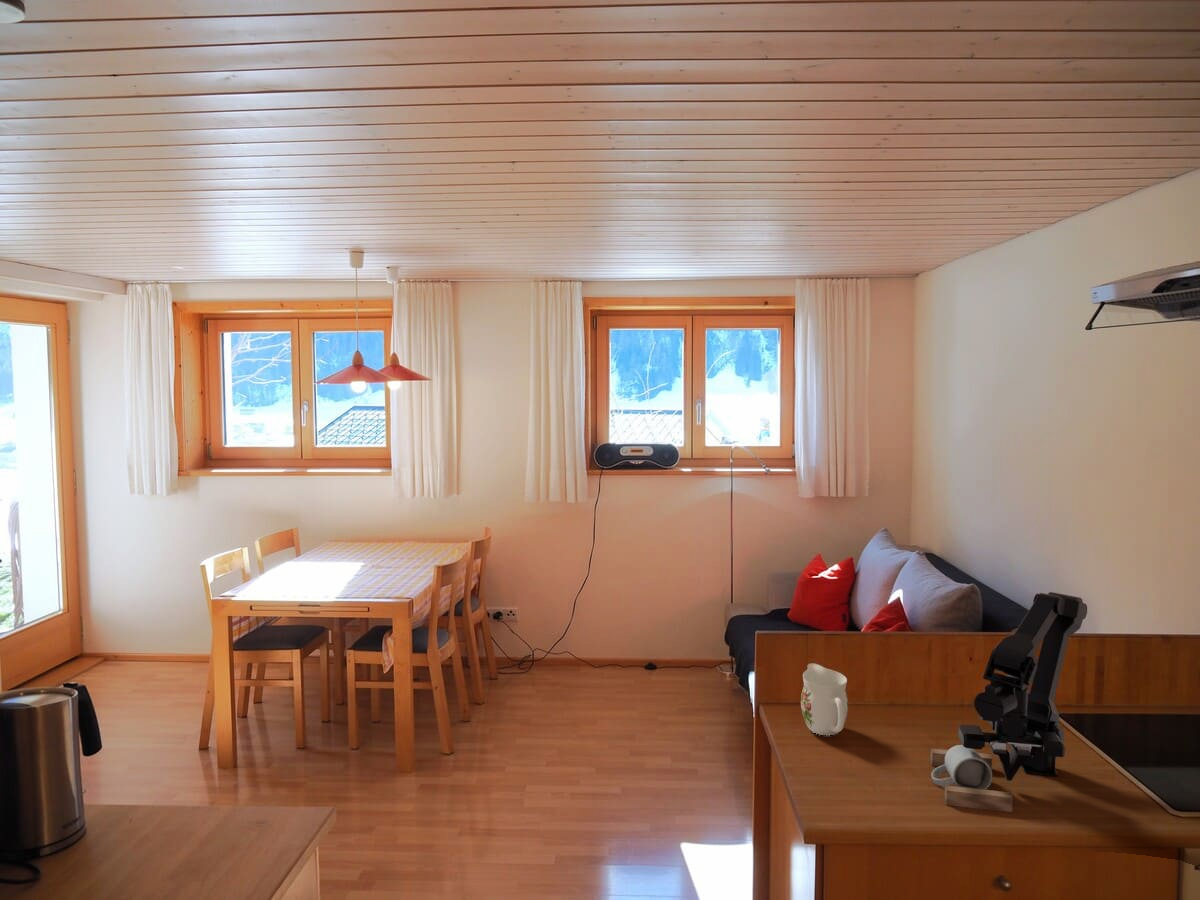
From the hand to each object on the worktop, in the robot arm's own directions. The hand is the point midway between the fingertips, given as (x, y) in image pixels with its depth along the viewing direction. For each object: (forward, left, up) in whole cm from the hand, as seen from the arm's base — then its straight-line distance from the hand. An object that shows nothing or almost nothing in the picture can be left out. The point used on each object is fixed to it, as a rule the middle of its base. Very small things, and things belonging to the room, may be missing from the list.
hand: (1008, 779), depth 160 cm
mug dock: (+8, 0, -2) cm, 8 cm away
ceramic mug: (+9, 0, -2) cm, 10 cm away
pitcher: (+36, -19, -2) cm, 40 cm away
